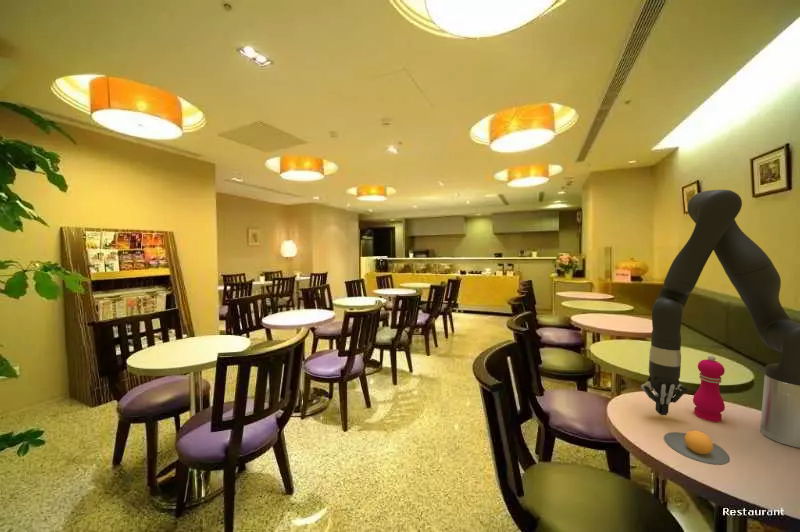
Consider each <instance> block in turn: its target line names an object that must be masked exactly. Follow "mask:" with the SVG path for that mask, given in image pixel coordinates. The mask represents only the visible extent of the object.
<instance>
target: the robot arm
mask: <svg viewBox="0 0 800 532" xmlns="http://www.w3.org/2000/svg"><path fill="white" fill-rule="evenodd" d="M742 206H743V200H742V197H741V196H740V195H739V193H737V192H736V191H732V190H730V189H713V190H712V189H711V190H704V191H700V192H698V193H696V194H694V195H693V196H692V197H691V198H690V199H689V200H688V203H687V208H686V209H687V213H688V215H689V217H690V219H691V220H692V221H693V222H694V223H695V226H694V229H693V230H692V233H691V235H690V237H689V239H688V240H687V242H686V243H685V245H684V246H683V247H682V249H681V250H680V251H679V252H678V253H677V254H676V255H675V258H674V259H673V260H672V263H671V264H670V267H669V269H668V271H667V273H666V275H665V278H664V281H663V286H662V288H661V289H660V292H659V294H658V295H657V298H656V300H655V302H654V303H653V305H652V308H651V324H652V331H651V339H650V343H651V344H650V349H649V355H648V356H649V357H648V358H649V360H648V374H649V376H648V377H647V381H646V382H645V383H639V386H640V388H641V389H642V391H644V393H645V394H646V395H647V397H648V398H649V399H650V400H652V401H653V402H655V412H657V413H658V414H659V415H660V416H667V414H668V413H669V407H670V404H671V403H674V404H675V403H677V402H678V401H679V400H680V399H681V398H682V397H683V396H684V394H686V392H687V391H688V388H687V387H686V386H684V385H683V384H681V381H680V380H679V379H680V378H681V368H682V367H681V366H682V351H681V349H682V334H681V329H682V328H681V327H682V320H683V312H684V309H685V307H686V305H687V302H688V299H689V297H690V295H691V293H692V292H693V291H694V289H695V287H696V285H697V283H698V281H699V279H700V276H701V275H702V272H703V270H704V268H705V266H706V264H707V262H708V260H709V259H710V256H711V255H712V253H713V252H714V254H715V256H716V257H717V259H718V262H719V263H720V265H721V267H722V268H723V271H724V272H725V274H726V276H727V278H728V279H729V281H730V283H731V284H732V286H733V287H734V289H735V290H736V292H737V295H739V297H740V299H741V301H742V302H743V304H744V305H745V307H746V309H747V311H748V313H749V315H750V317H751V319H752V322H753V324H754V326H755V329H756V331H757V334H758V336H759V338H760V339H761V341H762V342H763V344H765V345H766V346H767V348H770V349H772V350H774V351H777V352H779V353H781V355H780V360H779V362H778V363H777V362H776V363H773V362H772V363H768V364H767V365H765V369H764V381H763V390H762V391H763V392H762V403H761V404H762V405H761V413H760V414H761V417H760V425H759V427H760V429H759V431H760V433H761V434H762V435H763V436H764V437H766V438H769V439H771V440H772V441H774V442H777V443H780V444H783V445H785V446H789V447H794V448H799V449H800V322H796V321H794V320H792V318H790V316H789V315H788V314H787V312H786V310H785V309H784V308H783V306H782V304H781V302H780V291H781V288H782V287H781V286H782V285H781V284H782V280H781V276H780V274H779V271H778V270H777V268H776V267H775V265H774V263H773V261H772V260H771V258H770V257H769V255H768V254H766V252H765V251H764V250H763V249H762V248H761V247H760V246H759V245H758V244H757V243H755V242H754V240H752V239H751V237H749V236H748V235H747V234H746V233H745V232H744V231H743V230H742V229H741V227H740V226H739V225H738V223H737V221H736V218H737V216H738V215H739V213H740V212H741V209H742Z"/></svg>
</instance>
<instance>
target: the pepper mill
mask: <svg viewBox="0 0 800 532" xmlns="http://www.w3.org/2000/svg"><path fill="white" fill-rule="evenodd" d="M716 360H717V359H716V357H715V356H714V355H710V354H709V355H708V356H707V358H706V359H701V360H700V361H699V362H698V363H697V369H698V371H699V372H700V373H699V376H698V378H699V379H700V385H699V387H698V389H697V390H696V392H695V393H694V395H693V399H692V402H693V404H694V405H695V407H694V409H693V410H694V411H693V414H694V415H695V416H697V417H698V418H699V419H701V420H705V421H708V422H711V423H712V422H714V423H719V422H722V418H723V415H722V413H723V412H724V411H725V409H726V407H725V401H724V399H723V397H722V396H721V391H720V384H721V383H722V376H723V375H724V374H725V367H724V365H723V364H722V363H720V362H718V361H716Z"/></svg>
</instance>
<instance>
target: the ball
mask: <svg viewBox="0 0 800 532" xmlns="http://www.w3.org/2000/svg"><path fill="white" fill-rule="evenodd" d="M685 433H686V432H685ZM685 443H686V445H687V446H688V447H689V448H690V449H691V450H692V451H694V452H696V453H698V454H708V453H710V452H711V451H712V450H713V441H712V439H711V438H710V437H709V436H708V435H707V434H705V433H704V432H702V431H699V430H690V431H687V433H686V435H685Z"/></svg>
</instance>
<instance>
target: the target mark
mask: <svg viewBox="0 0 800 532" xmlns="http://www.w3.org/2000/svg"><path fill="white" fill-rule="evenodd" d="M685 435H686V432H677V431H675V432H674V431H671V432H667V433H666V434H664V435H663V436H664V437H663V440H664V442H665V444H666V445H667V446H668V447H670V448H671V449H672V450H673V451H674V452H677V453H678V454H680V455H682V456H685V457H687V458H689V459H692V460H694V461H698V462H700V463H705V464H709V465H710V464H711V465H716V464H719V465H725V464H728V463H729V462H730V456H729V453H728V452H726V451H725V450H724V449H723V448H722V447H721V446H719V445H717V444H716V443H713V442H712V443H713V450H712V451H711V452H710V453H708V454H698V453H696V452H694V451H692V450H691V449H690V448H689V447H688V446H687V445H686V443H685Z"/></svg>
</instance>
